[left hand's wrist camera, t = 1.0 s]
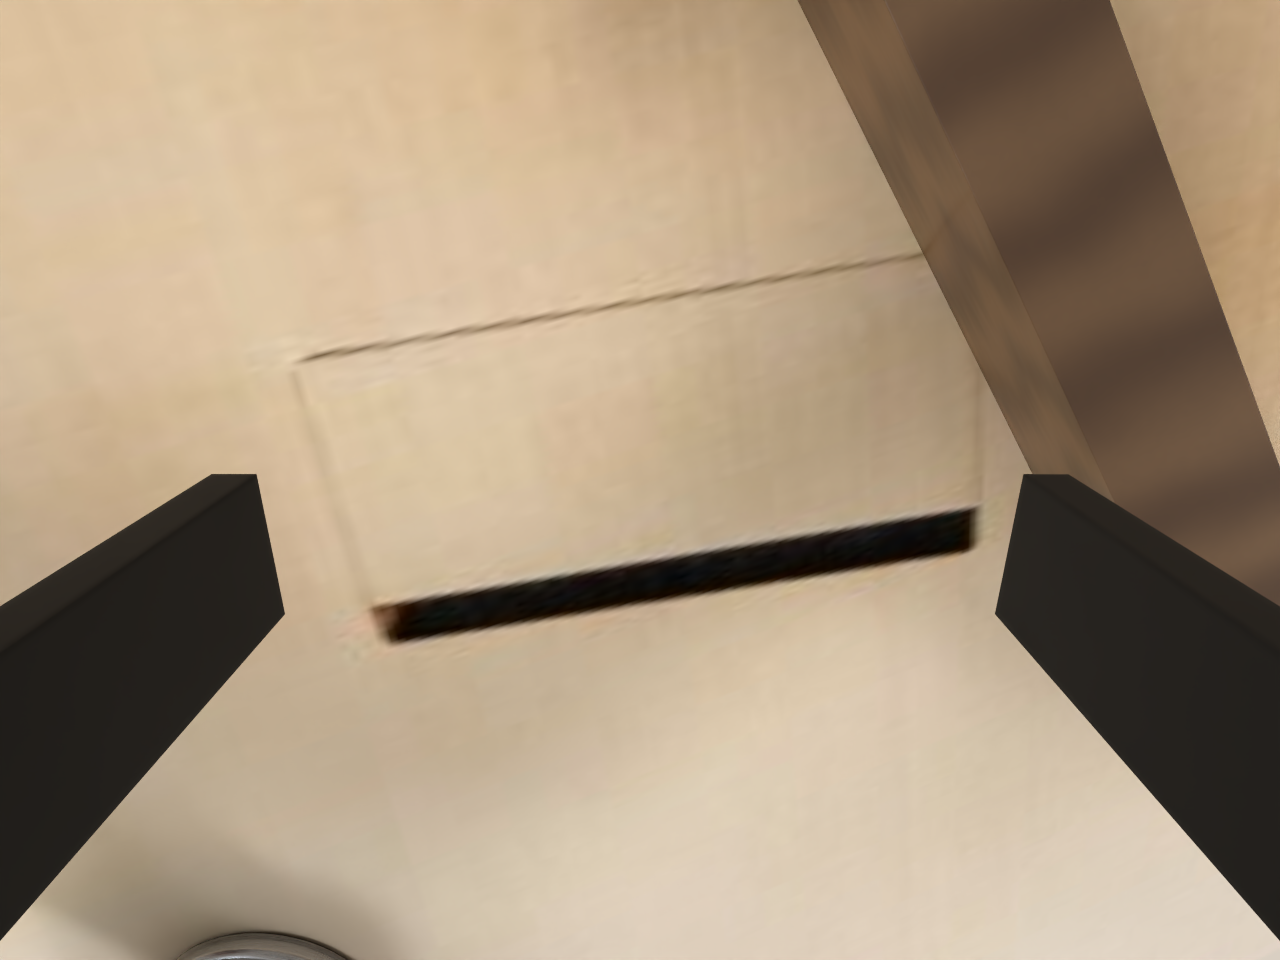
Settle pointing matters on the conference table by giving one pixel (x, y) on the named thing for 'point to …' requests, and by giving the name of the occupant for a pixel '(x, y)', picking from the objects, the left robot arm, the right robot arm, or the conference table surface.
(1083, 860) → the conference table surface
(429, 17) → the conference table surface
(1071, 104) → the post
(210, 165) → the conference table surface
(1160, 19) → the conference table surface
